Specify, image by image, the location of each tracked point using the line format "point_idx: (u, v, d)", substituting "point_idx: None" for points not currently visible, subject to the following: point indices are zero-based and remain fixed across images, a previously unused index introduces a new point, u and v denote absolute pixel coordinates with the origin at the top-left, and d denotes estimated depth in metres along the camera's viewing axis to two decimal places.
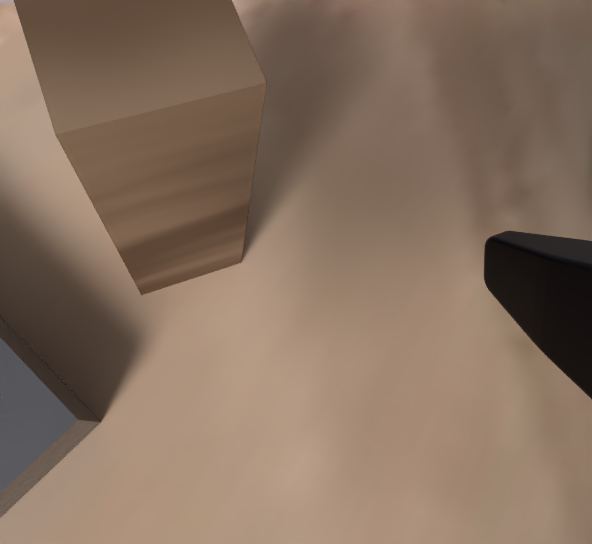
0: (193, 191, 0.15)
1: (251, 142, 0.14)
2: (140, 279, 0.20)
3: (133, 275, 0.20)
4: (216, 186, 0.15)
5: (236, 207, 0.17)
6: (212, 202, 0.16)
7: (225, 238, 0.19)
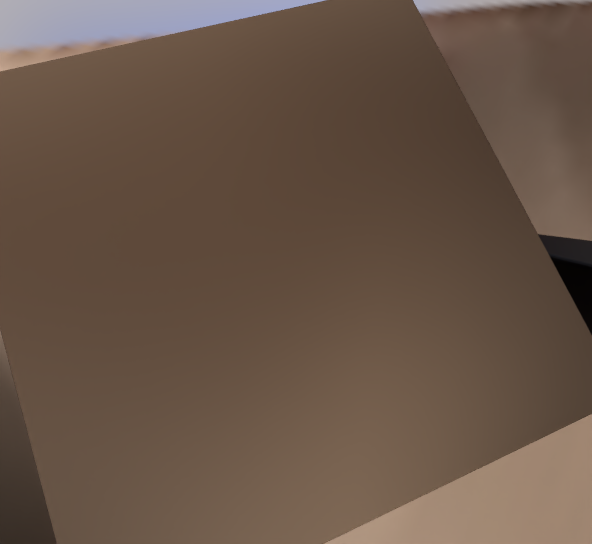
0: None
1: None
2: None
3: None
4: None
5: None
6: None
7: None
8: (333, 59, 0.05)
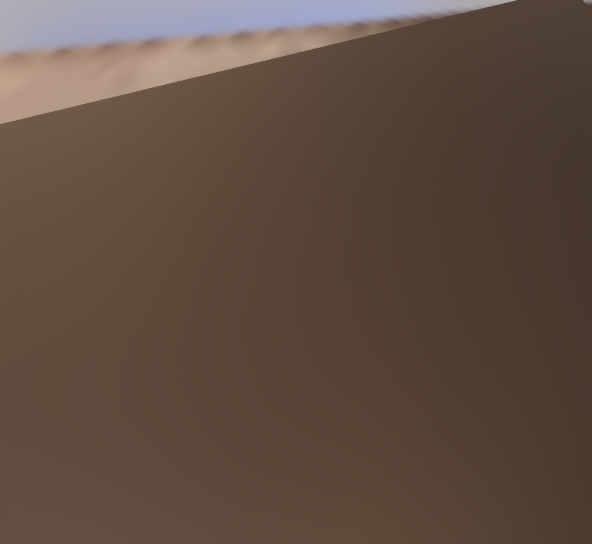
0: None
1: None
2: None
3: None
4: None
5: None
6: None
7: None
8: (486, 105, 0.03)
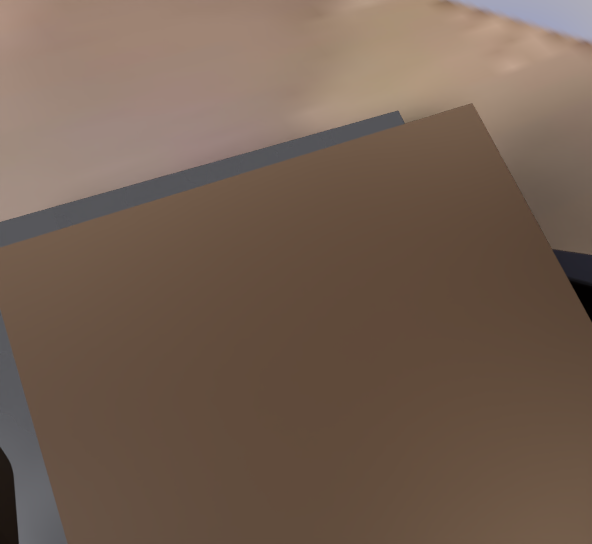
0: None
1: None
2: None
3: None
4: None
5: None
6: None
7: None
8: (404, 196, 0.05)
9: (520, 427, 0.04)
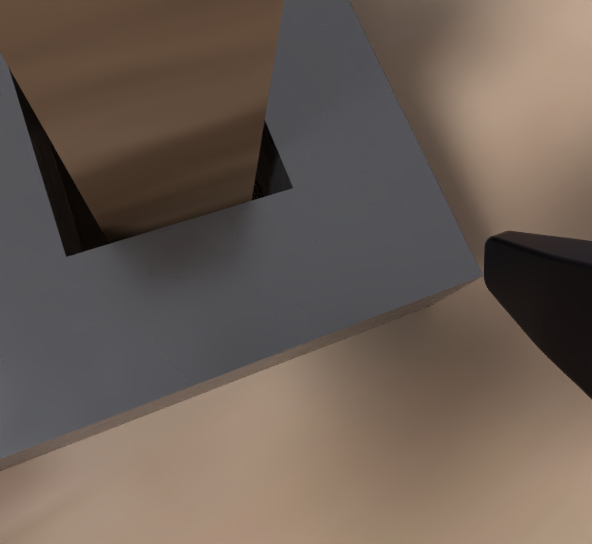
0: (183, 69, 0.09)
1: None
2: (114, 233, 0.15)
3: (102, 225, 0.14)
4: (219, 62, 0.10)
5: (247, 114, 0.12)
6: (211, 96, 0.10)
7: (229, 171, 0.14)
8: None
9: None
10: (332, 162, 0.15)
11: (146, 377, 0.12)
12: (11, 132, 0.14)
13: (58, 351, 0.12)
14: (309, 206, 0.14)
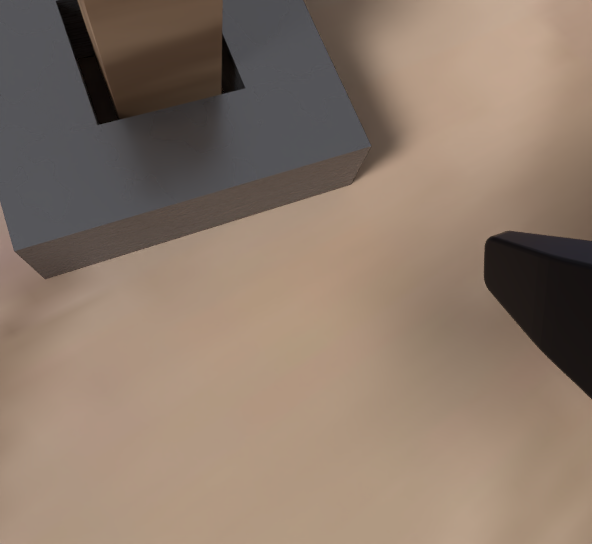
0: None
1: None
2: None
3: (119, 111, 0.21)
4: None
5: (210, 28, 0.19)
6: (187, 12, 0.18)
7: (203, 75, 0.21)
8: None
9: None
10: (272, 72, 0.22)
11: (148, 196, 0.20)
12: (61, 49, 0.21)
13: (93, 179, 0.20)
14: (255, 99, 0.22)
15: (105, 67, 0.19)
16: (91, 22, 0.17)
